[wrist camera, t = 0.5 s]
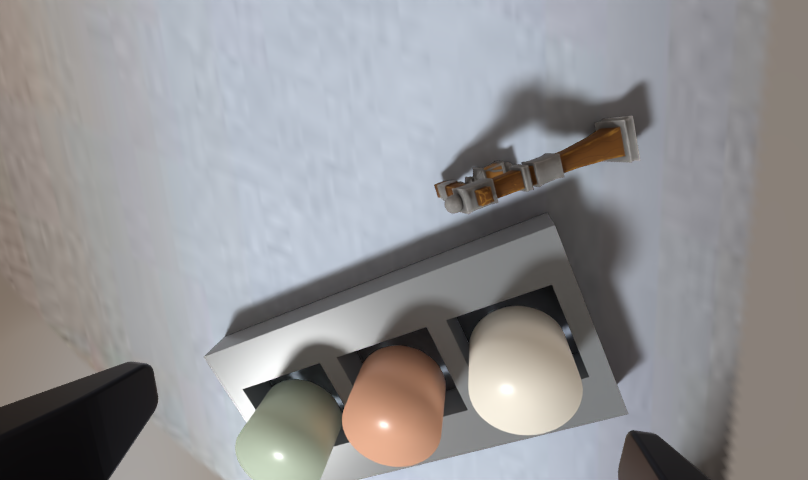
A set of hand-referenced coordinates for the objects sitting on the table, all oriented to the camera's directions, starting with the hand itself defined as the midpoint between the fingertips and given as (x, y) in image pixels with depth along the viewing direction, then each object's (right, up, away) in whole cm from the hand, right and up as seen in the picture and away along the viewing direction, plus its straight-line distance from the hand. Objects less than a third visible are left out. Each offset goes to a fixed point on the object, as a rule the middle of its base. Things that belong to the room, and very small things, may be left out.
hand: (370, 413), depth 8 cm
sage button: (-5, -6, +15) cm, 17 cm away
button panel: (+1, -3, +15) cm, 16 cm away
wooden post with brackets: (+6, +7, +12) cm, 15 cm away
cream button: (+6, -2, +12) cm, 13 cm away
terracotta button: (+1, -4, +14) cm, 14 cm away
